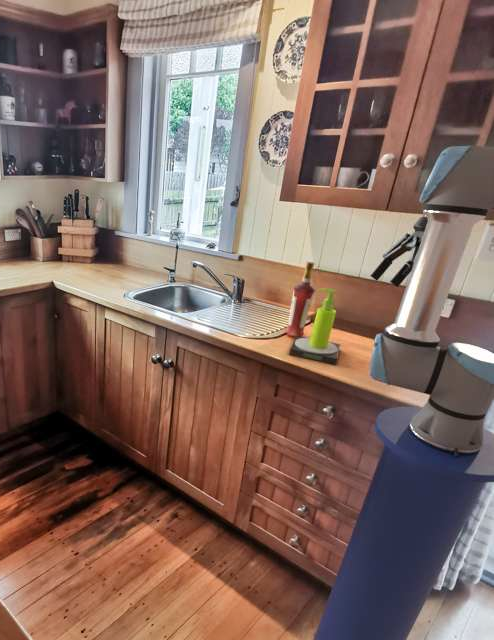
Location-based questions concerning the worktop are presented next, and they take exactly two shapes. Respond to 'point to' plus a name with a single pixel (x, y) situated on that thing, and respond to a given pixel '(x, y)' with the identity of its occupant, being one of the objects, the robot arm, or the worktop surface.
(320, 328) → the soap dispenser
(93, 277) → the worktop surface
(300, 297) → the liquor
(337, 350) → the kitchen scale
